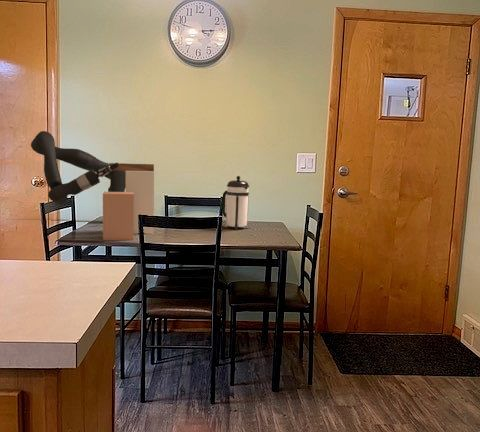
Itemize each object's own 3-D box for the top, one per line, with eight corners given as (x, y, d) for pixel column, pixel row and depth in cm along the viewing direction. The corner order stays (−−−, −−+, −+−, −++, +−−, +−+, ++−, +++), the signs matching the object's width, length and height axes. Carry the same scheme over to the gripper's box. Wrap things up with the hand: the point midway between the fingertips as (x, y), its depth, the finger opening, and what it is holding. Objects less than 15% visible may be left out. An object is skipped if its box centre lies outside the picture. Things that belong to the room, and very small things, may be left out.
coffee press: (250, 226, 264) (252, 175, 260) (248, 231, 248) (250, 177, 244) (221, 224, 266) (223, 174, 261) (217, 229, 250) (219, 175, 246)
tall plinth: (126, 230, 237) (126, 170, 232) (152, 230, 240) (153, 170, 235) (125, 233, 227) (125, 171, 222) (153, 233, 230) (154, 171, 225)
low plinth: (104, 236, 220) (104, 191, 217) (133, 235, 223) (133, 192, 220) (103, 240, 210) (102, 193, 207) (133, 239, 213) (133, 194, 210)
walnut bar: (109, 169, 227) (109, 163, 226) (153, 171, 232) (153, 164, 231) (109, 170, 224) (109, 163, 223) (153, 171, 229) (153, 164, 228)
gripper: (82, 174, 216) (113, 158, 218) (85, 172, 230) (114, 157, 232) (90, 188, 218) (121, 171, 220) (93, 185, 231) (122, 170, 234)
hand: (117, 164), depth 226 cm, fingers open, 5 cm apart
